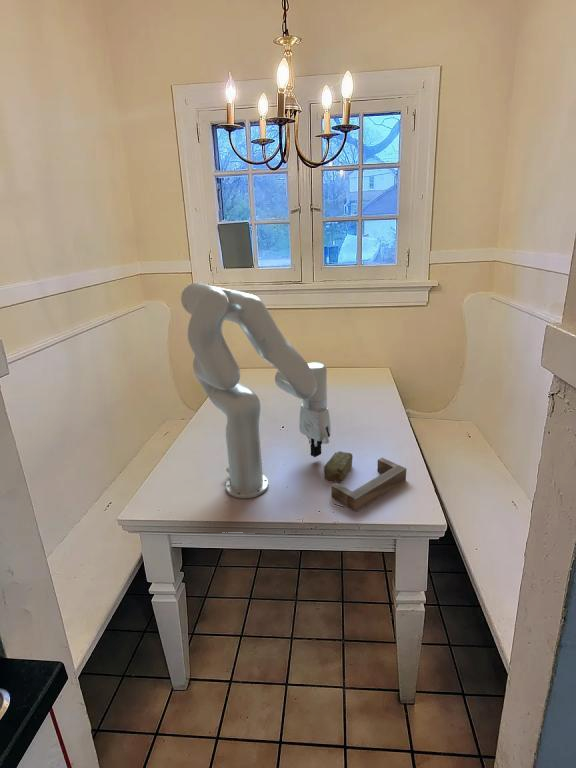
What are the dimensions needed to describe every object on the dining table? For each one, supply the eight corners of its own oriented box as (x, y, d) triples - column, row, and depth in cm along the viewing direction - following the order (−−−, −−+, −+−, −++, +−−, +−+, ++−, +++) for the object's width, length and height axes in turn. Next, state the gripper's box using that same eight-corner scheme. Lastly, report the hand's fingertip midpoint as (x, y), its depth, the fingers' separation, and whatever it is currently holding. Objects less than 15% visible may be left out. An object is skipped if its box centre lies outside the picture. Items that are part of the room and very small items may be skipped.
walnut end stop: (331, 497, 127) (331, 485, 126) (381, 468, 140) (381, 457, 139) (355, 511, 121) (355, 499, 119) (405, 480, 134) (406, 468, 132)
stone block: (353, 466, 143) (353, 452, 141) (341, 485, 133) (341, 470, 131) (336, 462, 145) (335, 449, 143) (323, 481, 135) (322, 467, 134)
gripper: (289, 399, 143) (292, 450, 149) (323, 413, 132) (324, 467, 138) (307, 392, 147) (308, 443, 153) (341, 405, 136) (341, 459, 143)
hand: (316, 454), depth 146 cm, fingers closed
